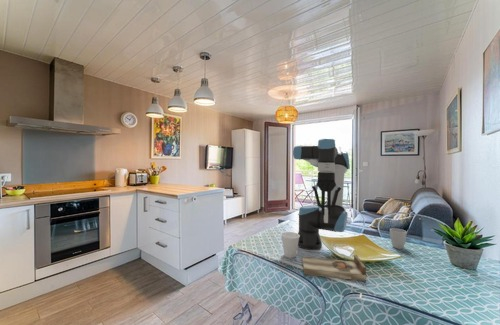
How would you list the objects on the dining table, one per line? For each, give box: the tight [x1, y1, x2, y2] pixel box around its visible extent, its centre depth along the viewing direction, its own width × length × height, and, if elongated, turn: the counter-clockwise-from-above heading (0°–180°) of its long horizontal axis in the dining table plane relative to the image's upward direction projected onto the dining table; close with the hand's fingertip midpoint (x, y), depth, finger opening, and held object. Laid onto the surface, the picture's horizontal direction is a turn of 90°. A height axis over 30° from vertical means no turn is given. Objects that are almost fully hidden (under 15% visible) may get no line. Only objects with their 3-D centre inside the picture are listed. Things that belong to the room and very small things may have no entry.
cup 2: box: [389, 227, 407, 250], centre depth 123 cm, size 8×8×10 cm
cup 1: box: [280, 231, 300, 259], centre depth 109 cm, size 10×10×11 cm
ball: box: [337, 263, 346, 269], centre depth 94 cm, size 4×4×4 cm
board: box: [301, 254, 367, 282], centre depth 94 cm, size 12×25×6 cm, turn 79°
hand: (325, 222), depth 97 cm, fingers closed
